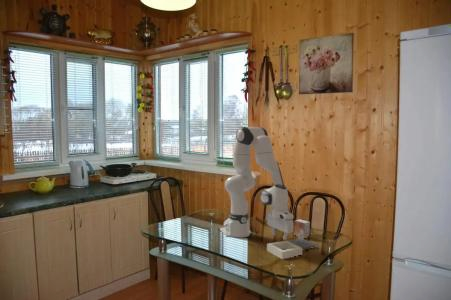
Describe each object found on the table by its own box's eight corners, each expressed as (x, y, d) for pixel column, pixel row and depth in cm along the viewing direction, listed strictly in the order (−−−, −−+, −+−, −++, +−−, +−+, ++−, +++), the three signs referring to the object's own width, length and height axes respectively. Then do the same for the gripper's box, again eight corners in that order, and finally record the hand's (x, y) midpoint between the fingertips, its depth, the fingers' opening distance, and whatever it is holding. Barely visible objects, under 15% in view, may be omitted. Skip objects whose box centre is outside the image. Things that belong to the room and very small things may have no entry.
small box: (293, 236, 225) (294, 220, 224) (299, 234, 228) (300, 218, 228) (303, 239, 219) (304, 223, 218) (309, 237, 222) (310, 221, 222)
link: (266, 250, 196) (267, 243, 196) (286, 247, 203) (286, 240, 202) (281, 259, 184) (282, 251, 183) (302, 255, 190) (302, 248, 190)
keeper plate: (284, 243, 209) (284, 230, 209) (301, 240, 216) (302, 228, 215) (299, 251, 197) (299, 237, 196) (317, 247, 204) (318, 234, 203)
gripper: (264, 210, 204) (264, 233, 205) (286, 217, 186) (286, 242, 187) (273, 209, 207) (273, 231, 208) (295, 216, 189) (295, 241, 190)
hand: (279, 237), depth 197 cm, fingers open, 8 cm apart
